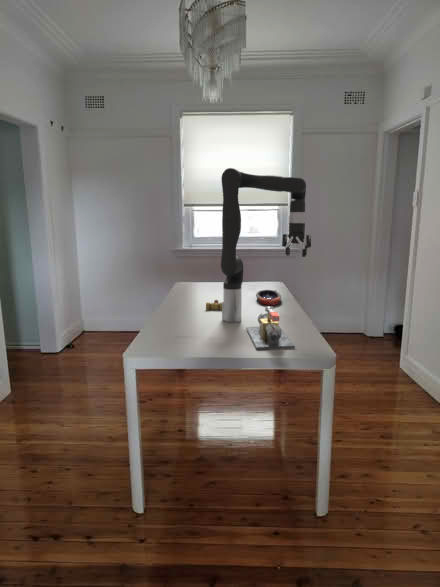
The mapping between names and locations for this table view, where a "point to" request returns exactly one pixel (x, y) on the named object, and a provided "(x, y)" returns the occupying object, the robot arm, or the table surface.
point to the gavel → (214, 306)
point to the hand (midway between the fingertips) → (295, 256)
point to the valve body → (269, 334)
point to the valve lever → (272, 313)
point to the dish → (268, 294)
